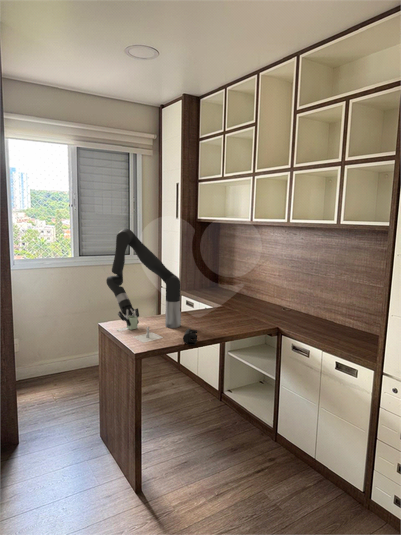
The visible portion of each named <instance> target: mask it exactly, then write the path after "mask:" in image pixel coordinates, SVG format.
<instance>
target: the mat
mask: <svg viewBox="0 0 401 535" xmlns="http://www.w3.org/2000/svg"><path fill="white" fill-rule="evenodd" d="M127 330H129V329H128V328H127V326H126V327H123V328H118V329H116V332H121V331H122V332H123V331H127Z"/></svg>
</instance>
